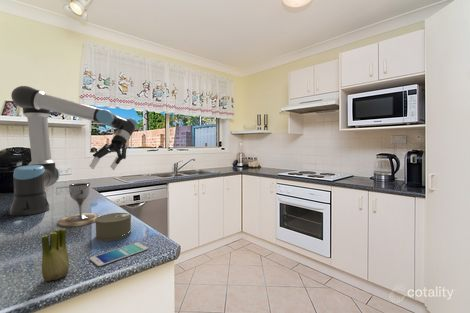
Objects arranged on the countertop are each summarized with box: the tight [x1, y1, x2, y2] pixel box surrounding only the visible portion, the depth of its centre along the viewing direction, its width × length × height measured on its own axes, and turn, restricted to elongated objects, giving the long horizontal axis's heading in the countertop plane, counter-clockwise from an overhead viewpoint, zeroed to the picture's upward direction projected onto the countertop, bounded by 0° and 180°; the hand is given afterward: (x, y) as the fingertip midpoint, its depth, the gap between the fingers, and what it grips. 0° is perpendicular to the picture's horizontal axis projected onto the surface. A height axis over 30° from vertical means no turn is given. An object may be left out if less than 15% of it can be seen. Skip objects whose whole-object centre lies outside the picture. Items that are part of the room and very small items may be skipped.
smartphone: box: [89, 242, 149, 268], centre depth 71 cm, size 7×1×15 cm
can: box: [94, 212, 132, 242], centre depth 87 cm, size 12×12×7 cm
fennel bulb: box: [41, 228, 70, 282], centre depth 58 cm, size 6×5×12 cm
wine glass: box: [68, 182, 91, 220], centre depth 104 cm, size 8×8×15 cm
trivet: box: [57, 212, 99, 228], centre depth 104 cm, size 16×16×1 cm
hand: (101, 167), depth 123 cm, fingers open, 13 cm apart
